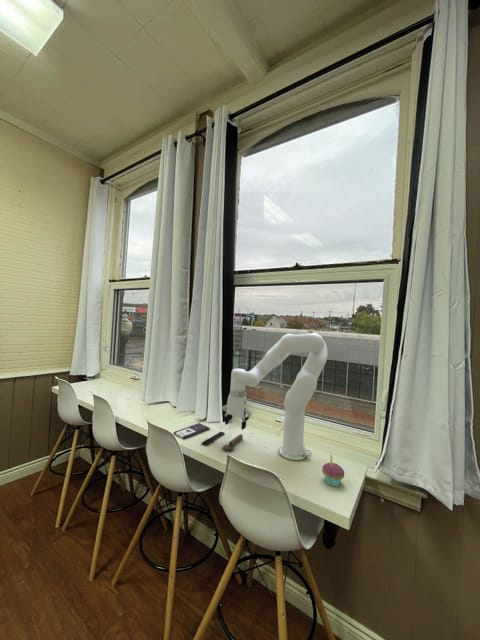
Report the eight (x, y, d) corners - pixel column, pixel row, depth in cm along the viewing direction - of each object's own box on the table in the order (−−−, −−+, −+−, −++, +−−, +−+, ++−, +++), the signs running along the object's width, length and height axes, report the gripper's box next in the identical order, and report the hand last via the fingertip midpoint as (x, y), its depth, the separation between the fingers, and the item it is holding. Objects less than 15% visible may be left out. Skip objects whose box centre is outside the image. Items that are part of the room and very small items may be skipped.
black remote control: (220, 432, 148) (220, 431, 148) (224, 434, 146) (224, 432, 146) (201, 444, 133) (201, 442, 133) (206, 445, 132) (206, 444, 132)
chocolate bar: (209, 427, 152) (184, 437, 138) (209, 429, 152) (184, 439, 138) (199, 423, 157) (174, 431, 143) (198, 424, 157) (173, 433, 143)
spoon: (237, 438, 142) (237, 433, 142) (245, 440, 140) (245, 435, 140) (221, 449, 129) (221, 444, 129) (229, 452, 126) (229, 447, 126)
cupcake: (335, 491, 101) (336, 460, 101) (317, 480, 107) (318, 450, 108) (348, 484, 106) (349, 454, 106) (329, 473, 112) (331, 445, 113)
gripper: (255, 394, 135) (253, 428, 135) (227, 388, 143) (224, 419, 143) (248, 398, 128) (246, 433, 128) (219, 391, 137) (217, 424, 137)
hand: (235, 426), depth 136 cm, fingers open, 9 cm apart
